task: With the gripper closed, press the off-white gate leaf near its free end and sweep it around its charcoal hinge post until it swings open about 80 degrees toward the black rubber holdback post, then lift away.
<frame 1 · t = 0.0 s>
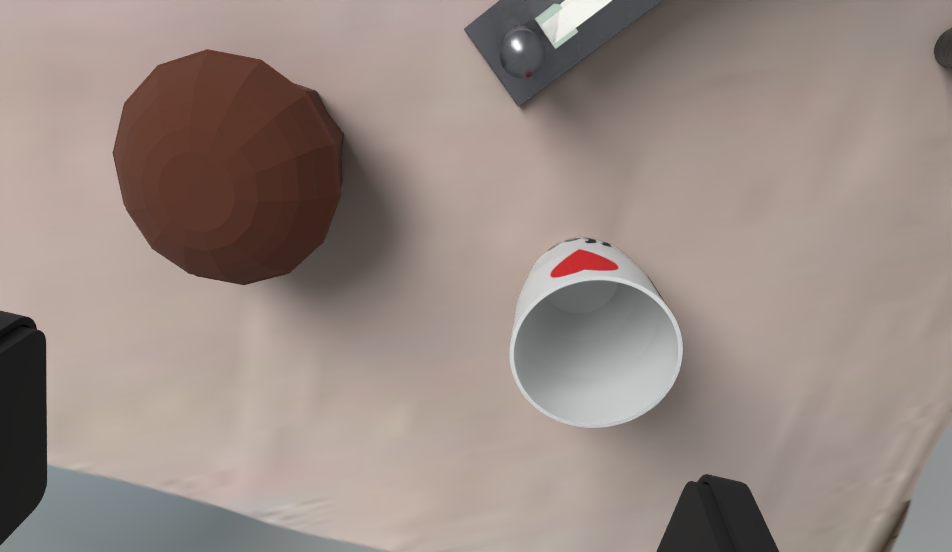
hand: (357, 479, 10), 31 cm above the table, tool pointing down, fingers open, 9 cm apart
muffin: (272, 147, 40), on the table
cup: (578, 276, 42), on the table
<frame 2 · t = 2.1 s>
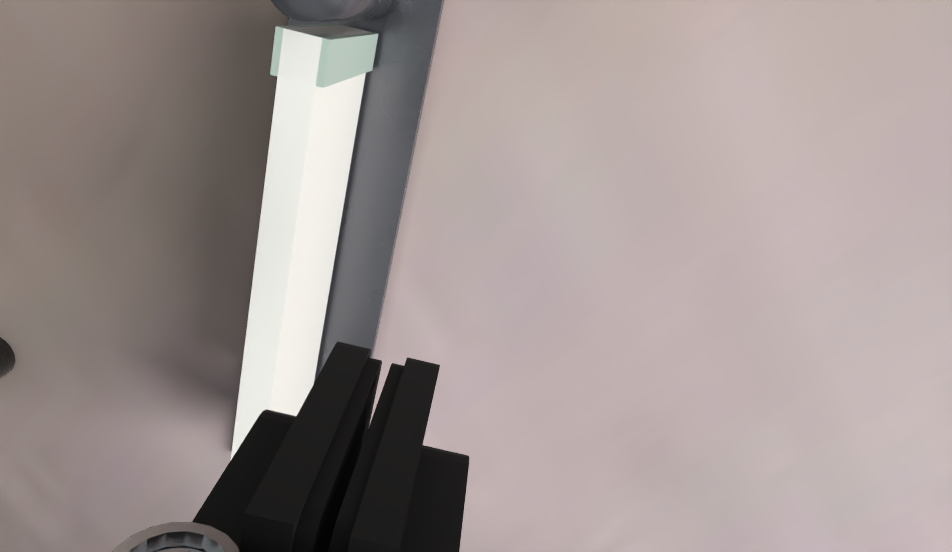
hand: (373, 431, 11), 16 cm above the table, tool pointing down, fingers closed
gate frame: (330, 234, 27), on the table
gate leaf: (300, 256, 23), point 4 cm above the table, hinge at 0.0°
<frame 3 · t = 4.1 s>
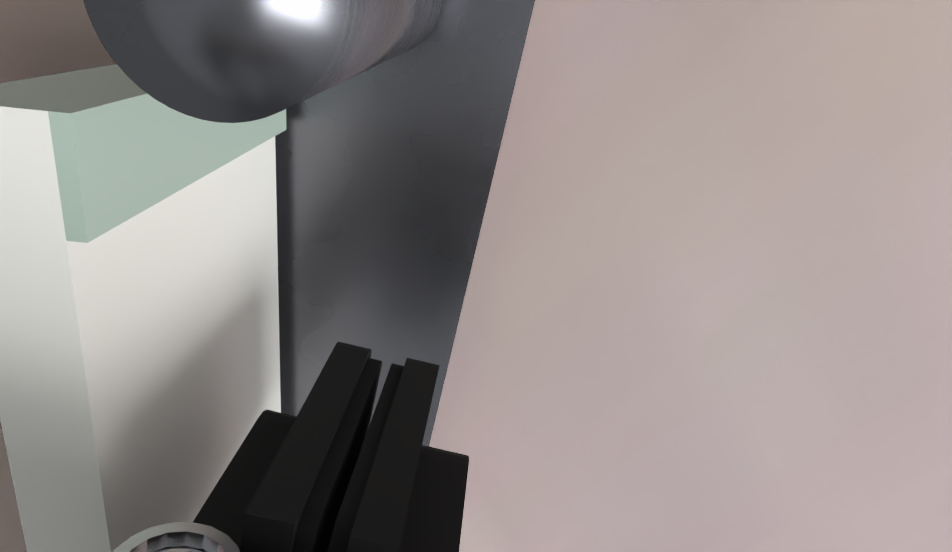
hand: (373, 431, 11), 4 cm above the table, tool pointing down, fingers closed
gate frame: (319, 418, 15), on the table
gate leaf: (194, 517, 12), point 4 cm above the table, hinge at 7.6°, touching gripper
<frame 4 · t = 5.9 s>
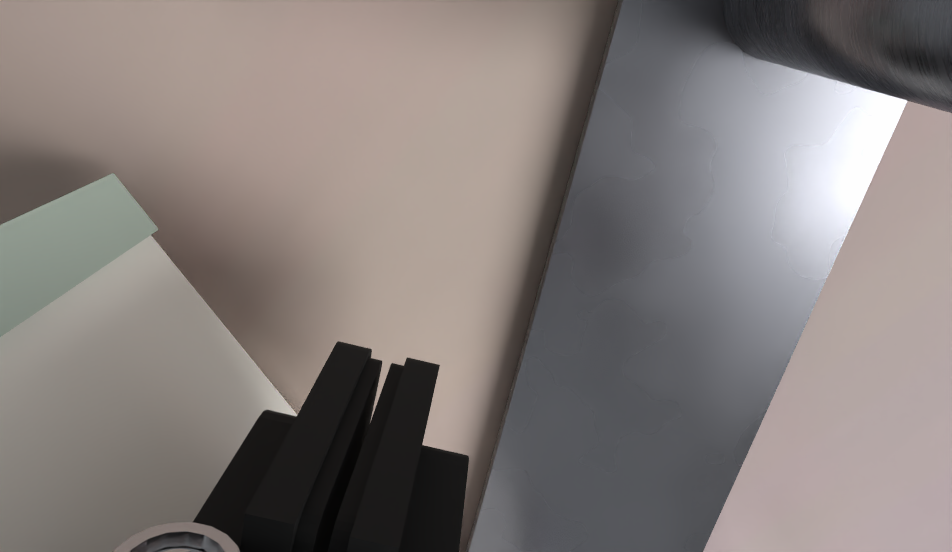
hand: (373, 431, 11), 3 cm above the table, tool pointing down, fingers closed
gate frame: (617, 438, 15), on the table
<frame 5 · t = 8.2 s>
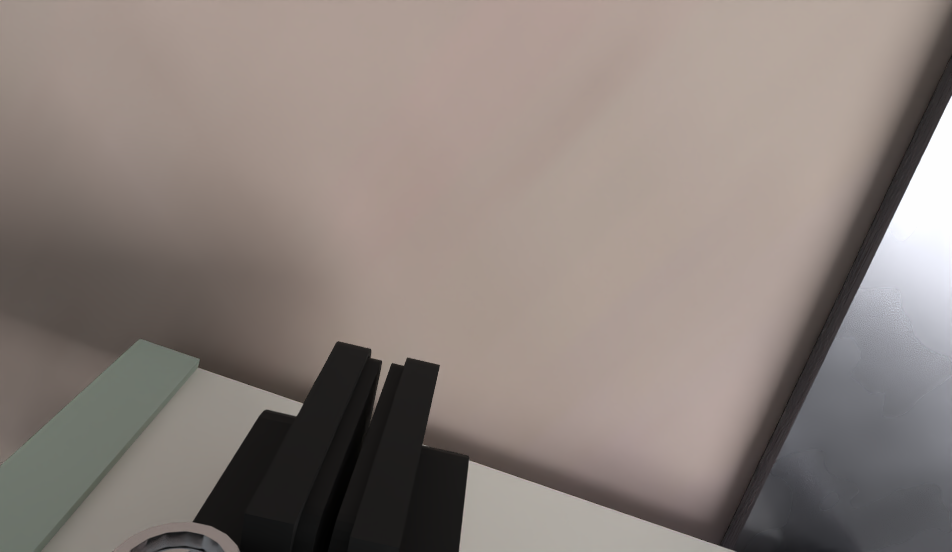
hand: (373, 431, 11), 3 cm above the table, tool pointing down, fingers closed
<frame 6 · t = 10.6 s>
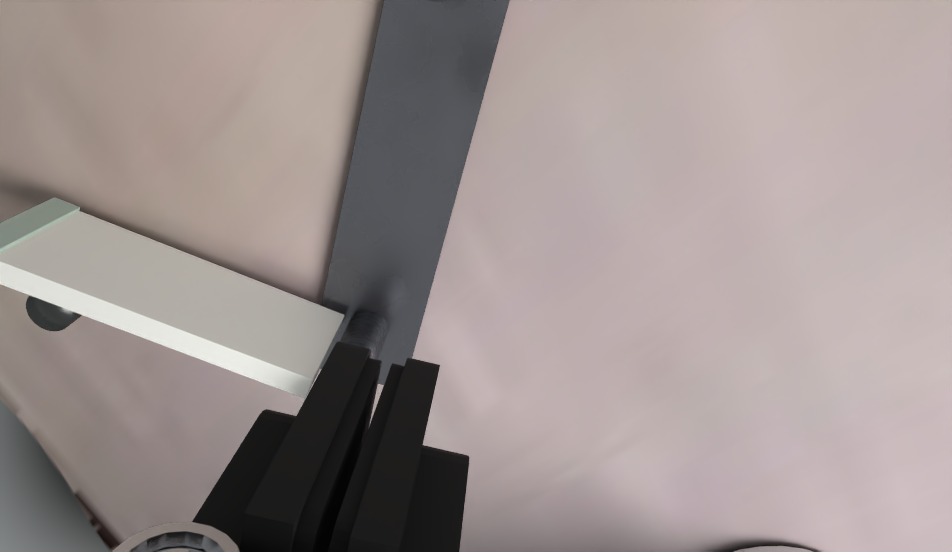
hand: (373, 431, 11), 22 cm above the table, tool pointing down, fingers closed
gate frame: (405, 176, 32), on the table
gate leaf: (172, 294, 30), point 4 cm above the table, hinge at 82.4°
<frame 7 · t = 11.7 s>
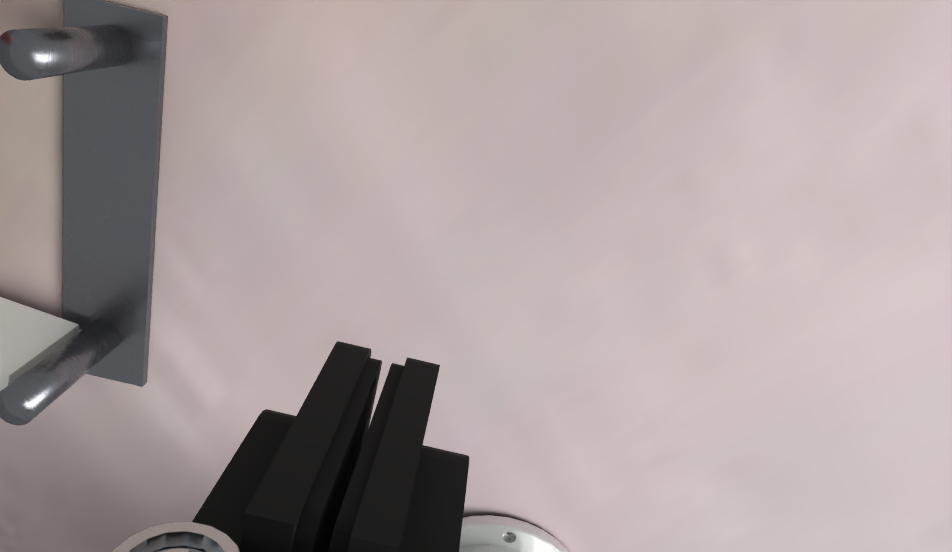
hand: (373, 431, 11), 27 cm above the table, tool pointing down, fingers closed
gate frame: (112, 208, 39), on the table
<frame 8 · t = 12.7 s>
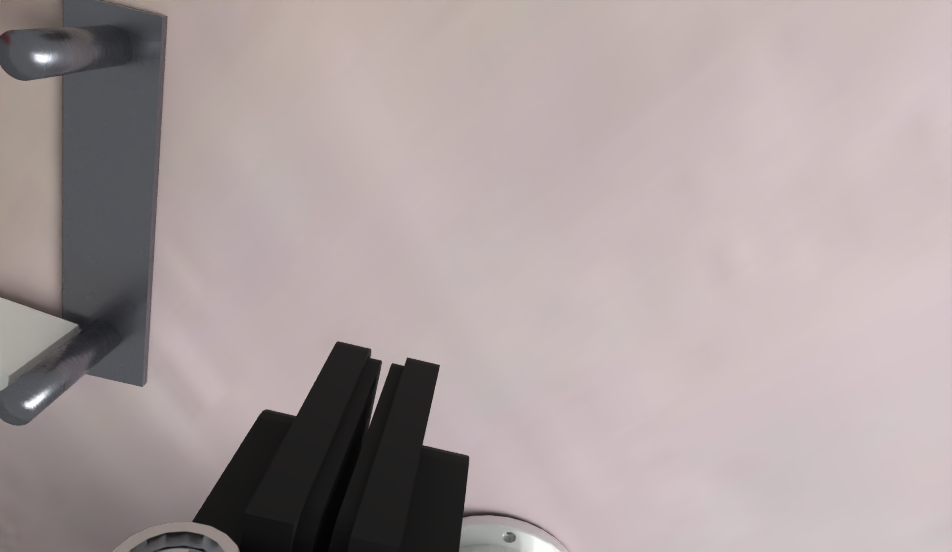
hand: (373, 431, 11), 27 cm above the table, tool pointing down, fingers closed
gate frame: (112, 208, 39), on the table
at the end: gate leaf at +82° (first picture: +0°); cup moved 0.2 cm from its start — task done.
